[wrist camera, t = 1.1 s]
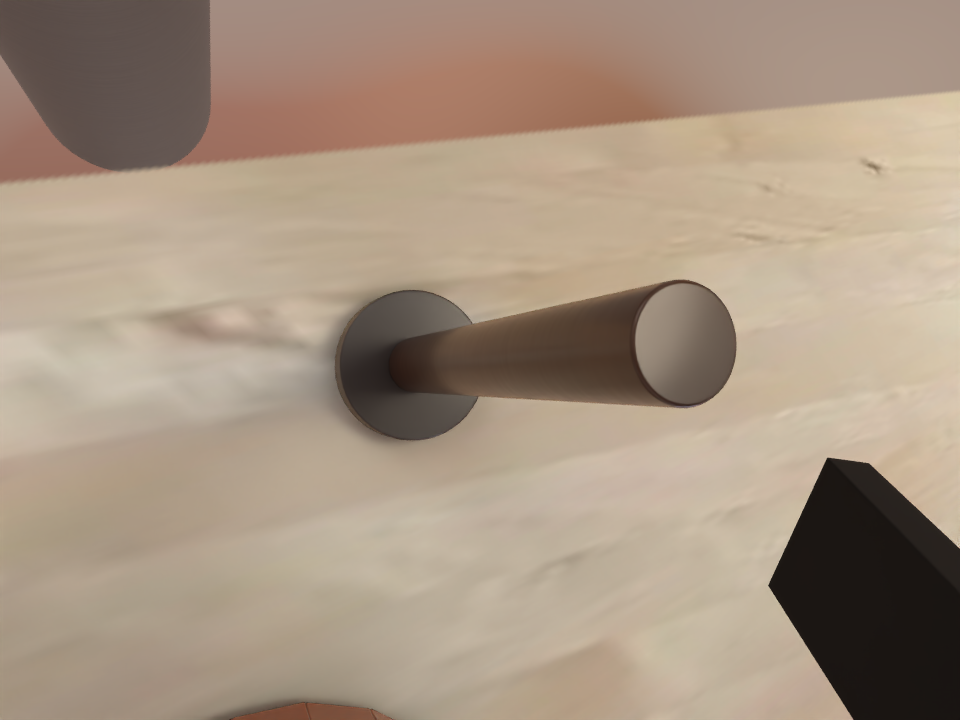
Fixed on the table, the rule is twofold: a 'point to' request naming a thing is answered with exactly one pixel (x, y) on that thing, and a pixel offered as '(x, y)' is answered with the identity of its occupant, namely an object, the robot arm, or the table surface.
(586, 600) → the table surface
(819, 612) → the robot arm
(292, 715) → the bowl
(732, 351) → the peg on round base
